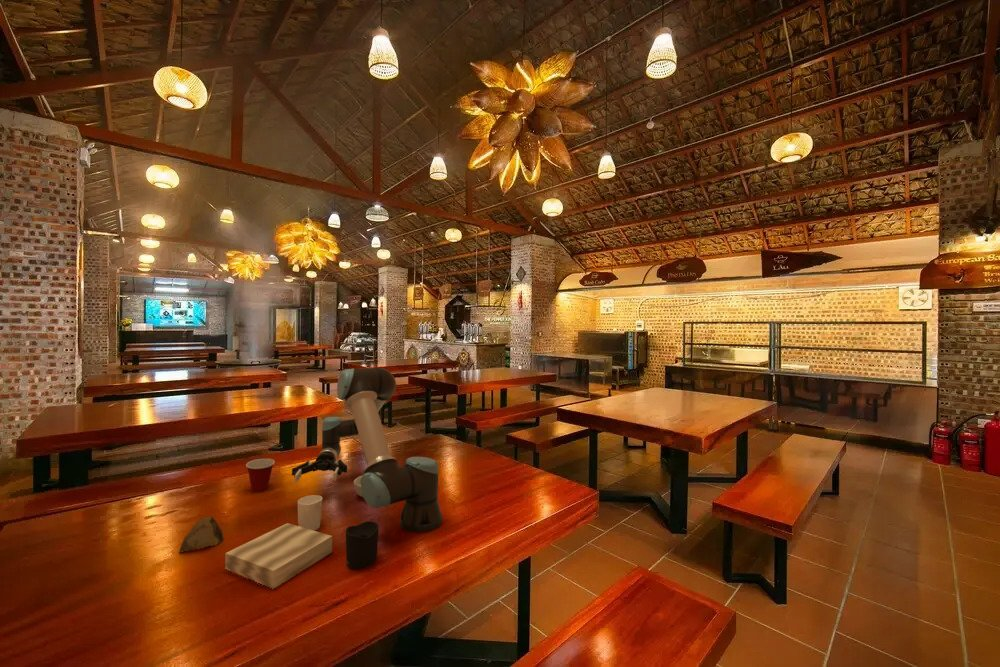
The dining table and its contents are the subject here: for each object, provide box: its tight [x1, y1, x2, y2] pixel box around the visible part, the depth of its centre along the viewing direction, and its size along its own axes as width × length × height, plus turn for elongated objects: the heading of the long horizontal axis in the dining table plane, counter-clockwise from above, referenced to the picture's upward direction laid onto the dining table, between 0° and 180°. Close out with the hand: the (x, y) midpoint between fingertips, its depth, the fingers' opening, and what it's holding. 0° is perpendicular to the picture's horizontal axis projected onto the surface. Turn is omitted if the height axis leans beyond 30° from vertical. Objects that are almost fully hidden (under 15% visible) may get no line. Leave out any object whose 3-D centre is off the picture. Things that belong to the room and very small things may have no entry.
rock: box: [179, 516, 225, 553], centre depth 126 cm, size 11×9×10 cm
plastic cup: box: [245, 458, 276, 493], centre depth 171 cm, size 11×11×12 cm
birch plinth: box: [224, 522, 333, 590], centre depth 118 cm, size 20×20×5 cm
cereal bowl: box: [353, 474, 364, 498], centre depth 167 cm, size 17×17×7 cm
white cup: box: [297, 494, 323, 531], centre depth 138 cm, size 8×8×10 cm
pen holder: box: [345, 520, 380, 570], centre depth 119 cm, size 9×9×10 cm
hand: (315, 477), depth 148 cm, fingers open, 13 cm apart
